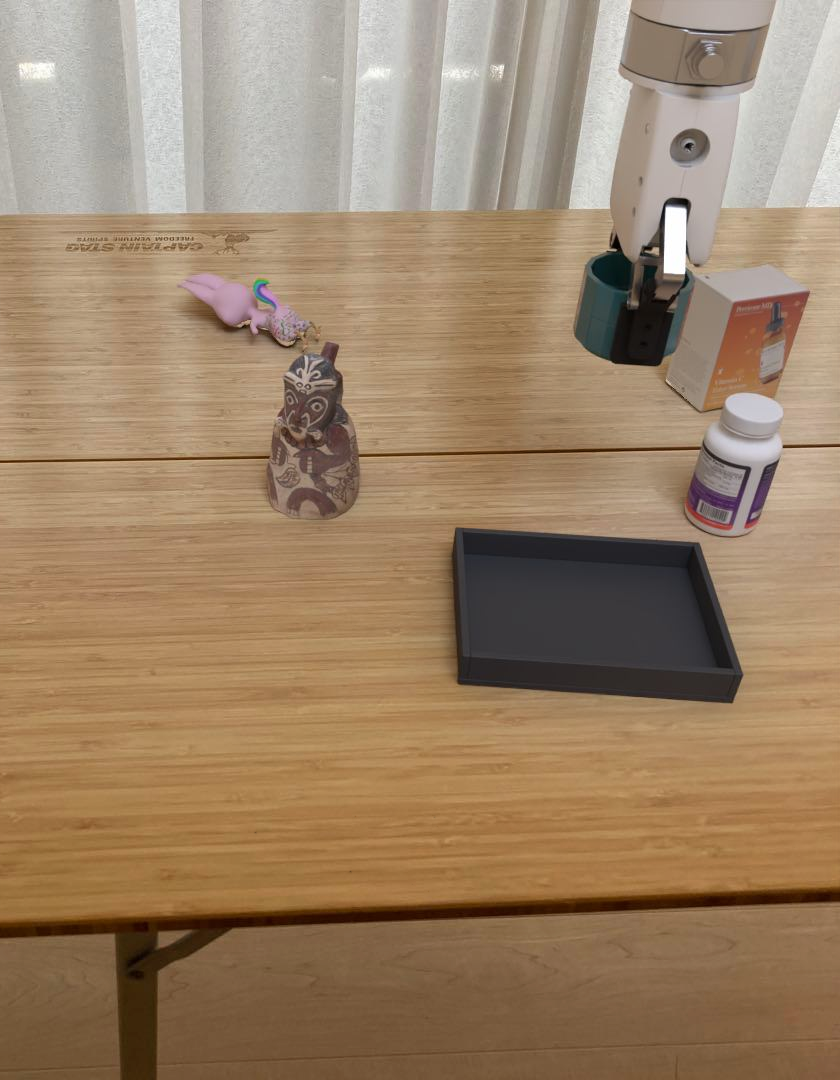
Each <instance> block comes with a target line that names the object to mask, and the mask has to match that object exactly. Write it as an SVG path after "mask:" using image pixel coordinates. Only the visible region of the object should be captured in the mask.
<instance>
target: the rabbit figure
mask: <svg viewBox="0 0 840 1080" xmlns="http://www.w3.org/2000/svg"><path fill="white" fill-rule="evenodd" d="M184 281H185V282H180V283H179V282H177V283H176V285H175V286H176V287H178V288H181V289H184V290H186V291H188V292H189V293H191V294H192V295H193V296H195V297H196V298H197V299H198V300H200V301H201V302H203V303H204V304H206V305H208V306H210V307H211V309H213V311H214V312H215V314H216V316H217V317H218V318H219V319H220V320H221V321H222V322H223V323H224V324H225V325H227V326H229V325H230V326H229V327H231V326H237V325H239V324H241V323H242V322H245V321H247V320H251V321H250V324H249V328H250V330H251V333H252V335H254V336H256V335H258V334H259V330H258V327H260V328H266V329H268V330H269V331H268V332H270V331H271V332H270V334H271V333H272V334H273V335H274V336H275V337H276V338H278V339H280V340H282V341H286V342H291V341H294V340H296V341H297V340H298V339H297V337H300V338H299V339H300V340H301V342H302V346H303V345H304V346H305V345H307V346H308V343H309V342H308V341H309V340H308V337H309V335H306V336H305V337H304V336H302V335H301V334H300V333H301V332H305V331H306V332H308V329H310V328H313V329H314V331H315V335H316V334H320V333H321V331H322V330H321V327H322V325H321V324H320V325H319V326H317V325H316V324H315V322H314V321H313V320H312V319H310V320H305V319H303V318H302V317H301V316H300V315H299V313H297V312H296V311H294V310H293V309H291V306H290V305H289V304H285V305H281V303H280V301H279V299H278V297H277V296H276V295H275V294H274V292H273V291H271V290H270V289H269V288H268V286H267V285H270V284H271V282H270V281H269V280H268V279H266V278H263V277H259V278H257V279H256V280H255V281H254V283H253V288H252V289H253V291H252V290H251V289H249V288H248V287H247V286H246V285H244V284H241V283H240V282H239V283H238V282H228V281H227V280H226V279H224V278H222V277H220V276H218V275H216V274H212V273H208V272H207V273H206V272H204V273H196V274H193V275H191V276H188V277H186V278H184ZM258 300H259V301H260V302H262V303H263V304H267V305H271V307H268V308H265V309H259V302H258ZM260 328H259V329H260ZM272 334H271V335H272ZM273 335H272V336H273ZM274 336H273V337H274Z"/></svg>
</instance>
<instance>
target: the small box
mask: <svg viewBox="0 0 840 1080" xmlns="http://www.w3.org/2000/svg"><path fill="white" fill-rule="evenodd" d="M693 275H694V278H695V280H696V283H695V287H694V290H693V294H692V298H691V302H690V306H689V309H688V313H687V317H686V321H685V325H684V328H683V332H682V336H681V340H680V344H679V346H678V347H677V349H676V351H675V352H674V353H673V354H671V355H670V356H671V357H670V360H669V364H668V367H667V372H666V375H665V379H667V380H668V381H669V382H670V383H671V385H672V386H673V387H674V388H675V389H676V390H677V391H678V392H679V393H680V394H681V395H682V396H683V397H684V398H683V397H682V396H681V395H680V394H679V393H678V394H679V395H680V396H681V397H682V398H683V399H684V400H686V399H687V400H686V401H687V402H688V401H689V402H690V403H689V402H688V403H689V404H690V405H692V407H694V408H695V409H696V410H697V411H699V412H706V411H712V410H715V409H720V408H723V406H724V403H725V400H726V399H727V398H728V397H729V396H731V395H733V394H737V393H754V394H759V395H762V396H766V397H768V398H771V399H772V398H774V399H775V397H776V395H777V392H778V389H779V385H780V383H781V379H782V377H783V374H784V371H785V368H786V366H787V363H788V359H789V356H790V353H791V351H792V347H793V344H794V341H795V338H796V335H797V333H798V330H799V327H800V324H801V320H802V318H803V315H804V312H805V308H806V306H807V303H808V300H809V297H810V295H811V290H810V289H809V288H807V287H806V286H804V285H803V284H801V283H800V282H798V281H797V280H795V279H794V278H792V277H791V276H789V275H787V274H786V273H785V272H783V271H781V270H779V268H777V267H775V266H773V264H772V265H771V264H770V263H766V264H761V265H758V266H754V267H753V266H752V267H746V268H739V269H732V270H726V271H717V272H711V273H710V272H709V273H699V274H698V273H697V274H693ZM772 400H773V399H772Z"/></svg>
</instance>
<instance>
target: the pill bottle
mask: <svg viewBox="0 0 840 1080" xmlns="http://www.w3.org/2000/svg"><path fill="white" fill-rule="evenodd" d="M784 411H785V410H784V408H783V406H781V404H780V403H779V402H777V401H775V400H774V399H770V398H768V397H766V396H762V395H759V394H754V393H737V394H733V395H731V396H729V397H728V398H727V399H726V400H725V403H724V406H723V407H722V409H721V413H720V417H719V418H720V419H717V420H715V421H713V422H712V423H711V424H710V425H708V427H707V428H706V430H705V433H704V436H703V439H702V441H701V447H700V450H699V453H698V456H697V461H696V464H695V468H694V471H693V474H692V478H691V481H690V484H689V488H688V491H687V495H686V499H685V503H684V513H685V516H686V517H687V518H688V520H689V521H690V522H691V523H692V524H693V525H694V526H695V527H697V528H699V529H700V530H703V531H704V532H707V533H709V534H712V535H715V536H721V537H739V536H740V537H741V536H744V535H746V534H749V533H751V532H752V531H754V529H756V527H757V525H758V524H759V520H760V518H761V516H762V513H763V510H764V506H765V503H766V500H767V497H768V495H769V491H770V489H771V486H772V483H773V480H774V478H775V474H776V471H777V468H778V466H779V462H780V459H781V457H782V452H783V447H784V445H783V440H782V438H781V436H780V435H779V433H778V432H779V430H780V428H781V425H782V421H783V418H784V414H785V412H784Z"/></svg>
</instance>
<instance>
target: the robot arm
mask: <svg viewBox="0 0 840 1080" xmlns="http://www.w3.org/2000/svg"><path fill="white" fill-rule="evenodd" d="M776 4H777V0H631V1H630V10H629V12H628V18H627V23H626V29H625V34H624V39H623V44H622V50H621V55H620V59H619V64H618V69H617V70H618V73H619V76H620V77H622V78H623V79H624V80H627V81H628V82H630V83H631V84H632V86H631V89H630V90H629V99H628V103H627V107H626V111H625V116H624V121H623V125H622V128H621V129H622V130H621V133H620V138H619V142H618V148H617V154H616V158H615V163H614V167H613V174H612V180H611V187H610V194H609V209H610V215H611V219H612V223H613V225H612V228H611V232H610V235H609V240H608V248H609V250H606V251H605V252H614V251H623V253H624V255H625V256H626V257H627V258H628V259H629V260H630V261H631V262H632V265H631V273H630V281H629V290H628V298H627V303H624V302H621V306H620V310H619V315H618V319H617V324H616V328H615V333H614V337H613V342H612V347H611V351H610V359H611V361H610V362H611V363H612V364H613V365H623V366H639V367H653V368H656V367H659V366H660V365H662V363H663V360H664V358H663V356H664V352H665V349H666V345H667V341H668V337H669V333H670V329H671V325H672V321H673V317H674V313H675V310H676V307H677V301H678V296H679V294H680V290H679V288H680V287H681V285H682V284H683V282H684V278H685V267H686V259H688V261H689V264H690V265H693V266H694V267H695V268H702V267H703V266H705V265H706V264H707V263H708V262H709V260H710V259H711V258H710V257H711V254H712V250H713V246H714V242H715V237H716V232H717V228H718V224H719V219H720V215H721V210H722V205H723V201H724V196H725V191H726V186H727V182H728V178H729V173H730V168H731V162H732V157H733V153H734V147H735V142H736V141H735V140H736V134H737V127H738V121H739V120H738V119H739V113H740V112H739V111H740V104H741V103H740V102H741V94H743V93H746V92H749V91H750V90H751V89H753V87H754V86H755V83H756V80H757V75H758V71H759V67H760V64H761V59H762V56H763V53H764V49H765V45H766V41H767V38H768V33H769V30H770V26H771V22H772V18H773V15H774V12H775V7H776ZM654 248H658V255H659V257H653V256H643V252H648V253H651V252H652V251H653V250H654ZM651 254H655V253H651ZM686 257H687V258H686ZM644 267H647V268H657V271H656V273H655V279H653V278H649V279H648V280H647V281H646V282H645V283H644V285H643V287H642V280H643V271H644Z"/></svg>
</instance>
